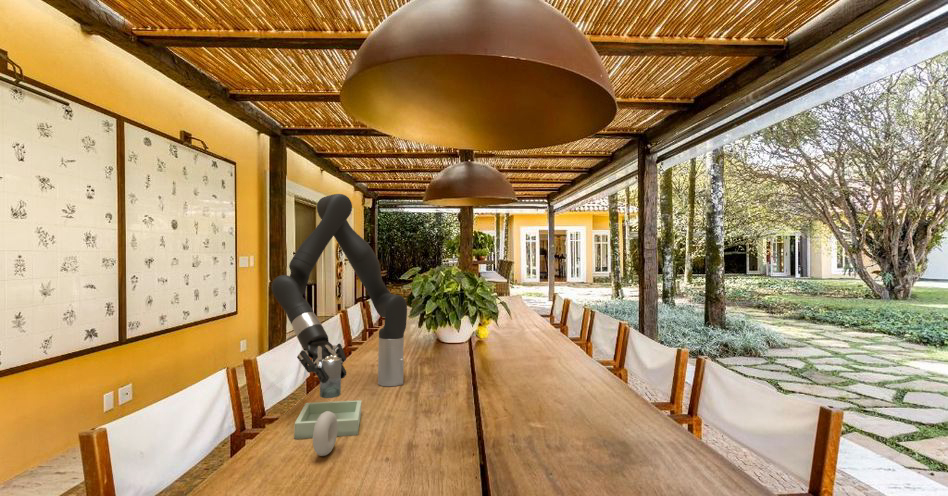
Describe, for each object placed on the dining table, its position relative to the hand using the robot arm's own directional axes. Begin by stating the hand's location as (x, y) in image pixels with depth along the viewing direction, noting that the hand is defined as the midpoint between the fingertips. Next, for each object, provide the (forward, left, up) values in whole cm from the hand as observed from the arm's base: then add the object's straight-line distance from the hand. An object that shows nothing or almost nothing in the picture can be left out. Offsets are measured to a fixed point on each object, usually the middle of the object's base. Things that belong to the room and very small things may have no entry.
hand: (334, 378), depth 122 cm
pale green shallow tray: (+1, -1, -13) cm, 13 cm away
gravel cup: (+1, -1, -5) cm, 5 cm away
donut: (0, +17, -14) cm, 22 cm away
